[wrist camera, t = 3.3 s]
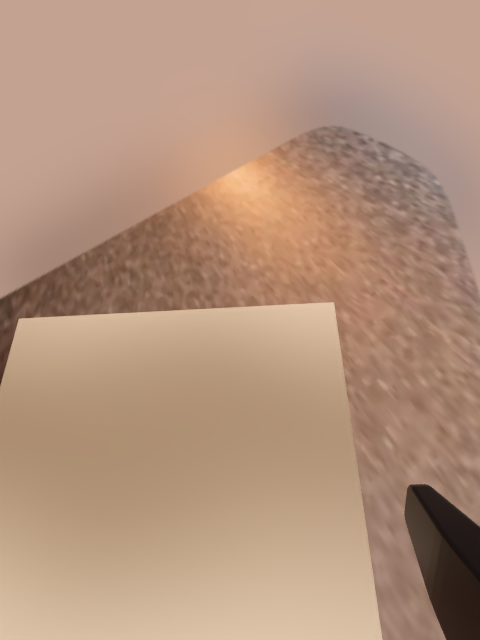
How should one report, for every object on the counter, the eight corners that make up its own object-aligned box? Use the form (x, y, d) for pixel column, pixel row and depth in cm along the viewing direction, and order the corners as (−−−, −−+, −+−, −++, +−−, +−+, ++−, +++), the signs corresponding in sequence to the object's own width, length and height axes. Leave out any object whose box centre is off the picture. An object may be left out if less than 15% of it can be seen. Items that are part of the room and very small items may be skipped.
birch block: (302, 551, 14) (403, 787, 3) (182, 551, 15) (-106, 766, 4) (292, 426, 17) (333, 302, 5) (188, 428, 17) (19, 318, 6)
